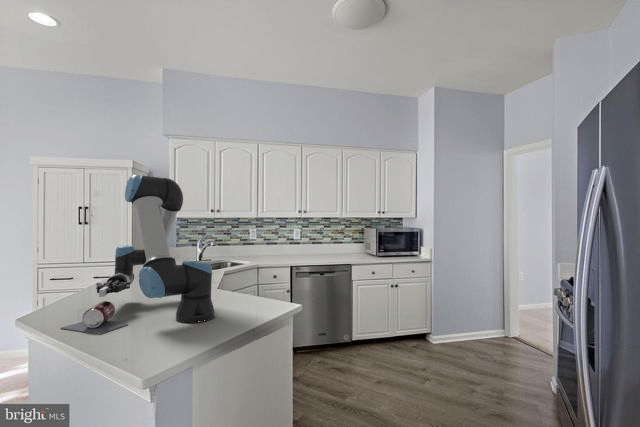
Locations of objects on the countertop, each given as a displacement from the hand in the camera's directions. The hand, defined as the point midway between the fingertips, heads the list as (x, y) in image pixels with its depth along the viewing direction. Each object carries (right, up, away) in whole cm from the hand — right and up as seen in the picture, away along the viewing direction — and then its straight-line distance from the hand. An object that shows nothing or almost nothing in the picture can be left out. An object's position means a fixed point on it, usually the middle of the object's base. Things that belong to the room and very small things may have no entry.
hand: (101, 293), depth 129 cm
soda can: (-1, -8, +4) cm, 9 cm away
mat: (+1, -11, -4) cm, 12 cm away
